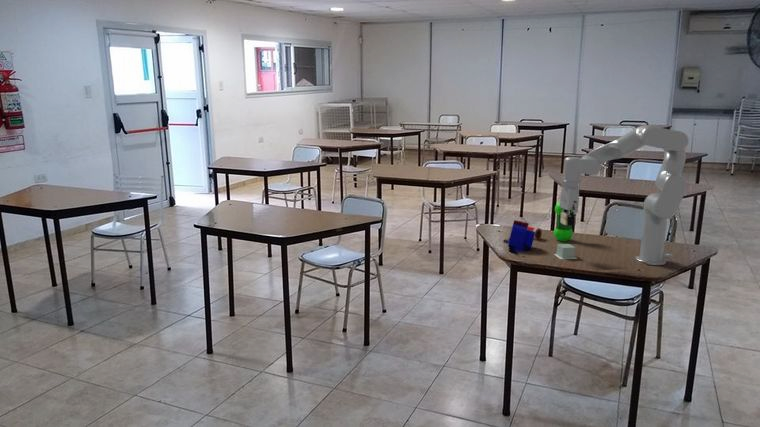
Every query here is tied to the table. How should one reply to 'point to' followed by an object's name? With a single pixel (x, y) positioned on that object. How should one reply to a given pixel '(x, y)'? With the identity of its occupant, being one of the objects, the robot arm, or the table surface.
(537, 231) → the toy hammer
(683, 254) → the table surface
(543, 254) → the table surface
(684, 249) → the table surface
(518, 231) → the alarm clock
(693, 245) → the table surface
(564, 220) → the maple cube
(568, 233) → the plastic bottle
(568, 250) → the sage block
